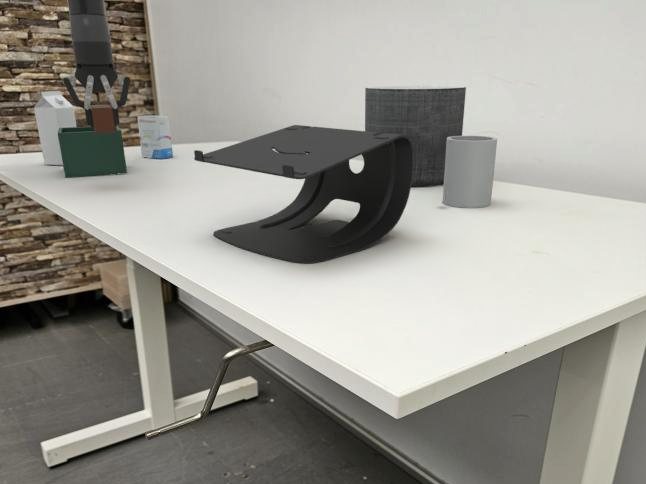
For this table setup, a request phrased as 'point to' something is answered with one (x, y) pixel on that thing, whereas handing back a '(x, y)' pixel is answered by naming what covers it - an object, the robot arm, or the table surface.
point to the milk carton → (53, 124)
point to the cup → (469, 171)
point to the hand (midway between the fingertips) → (103, 127)
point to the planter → (418, 122)
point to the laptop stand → (322, 189)
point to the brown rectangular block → (103, 119)
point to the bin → (91, 152)
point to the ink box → (155, 136)
